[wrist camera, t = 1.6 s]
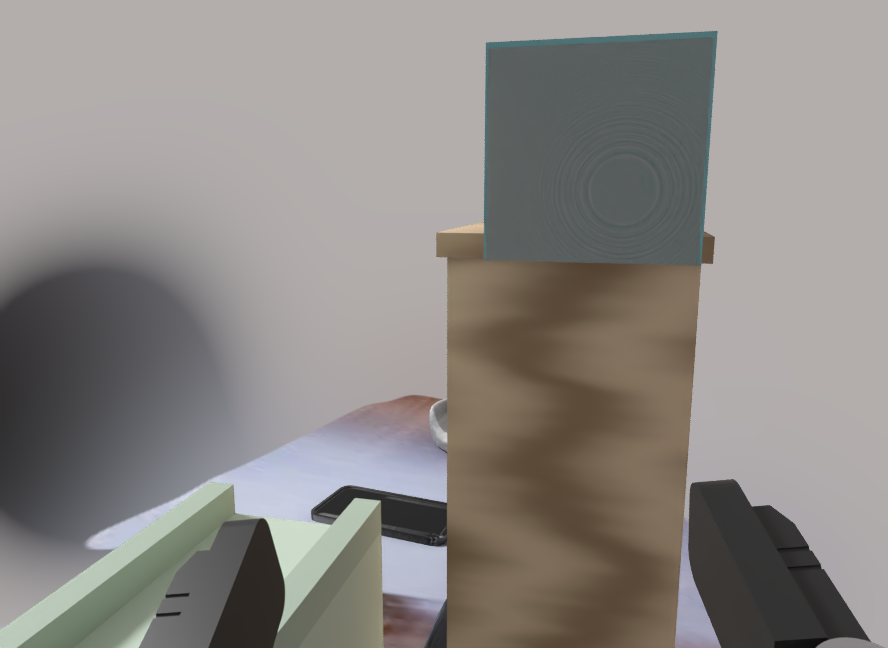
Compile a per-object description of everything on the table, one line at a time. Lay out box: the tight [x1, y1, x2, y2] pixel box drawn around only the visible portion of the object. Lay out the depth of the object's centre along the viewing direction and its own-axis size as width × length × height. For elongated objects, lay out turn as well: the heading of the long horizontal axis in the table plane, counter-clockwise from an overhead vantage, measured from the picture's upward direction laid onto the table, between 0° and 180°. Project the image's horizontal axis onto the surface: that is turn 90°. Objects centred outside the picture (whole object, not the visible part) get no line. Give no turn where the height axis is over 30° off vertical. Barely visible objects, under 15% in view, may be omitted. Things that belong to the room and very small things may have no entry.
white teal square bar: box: [484, 31, 717, 266], centre depth 25 cm, size 4×24×4 cm, turn 166°
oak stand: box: [436, 222, 715, 648], centre depth 33 cm, size 9×17×32 cm, turn 166°
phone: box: [311, 485, 447, 546], centre depth 73 cm, size 8×1×15 cm
